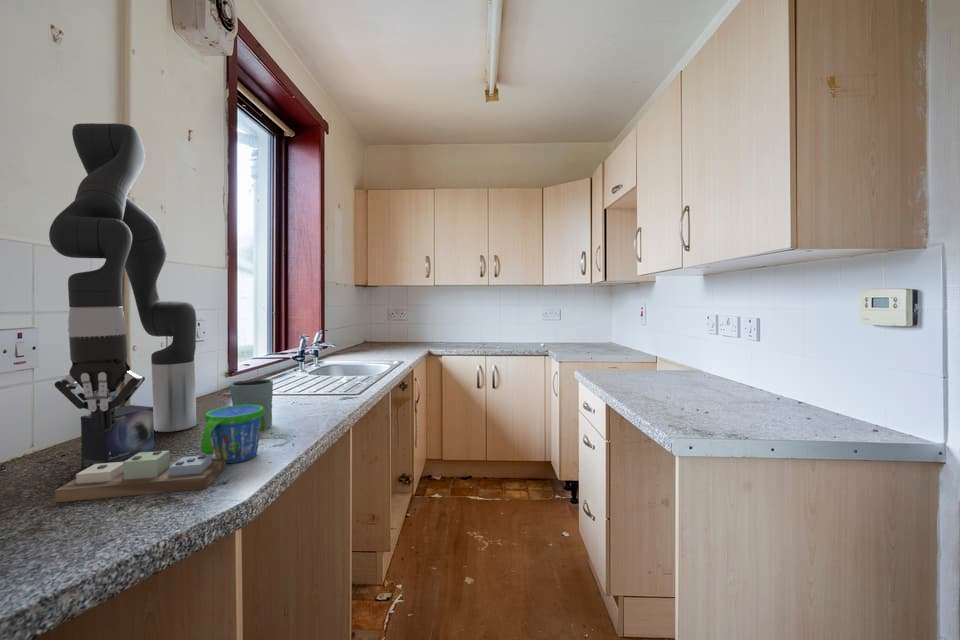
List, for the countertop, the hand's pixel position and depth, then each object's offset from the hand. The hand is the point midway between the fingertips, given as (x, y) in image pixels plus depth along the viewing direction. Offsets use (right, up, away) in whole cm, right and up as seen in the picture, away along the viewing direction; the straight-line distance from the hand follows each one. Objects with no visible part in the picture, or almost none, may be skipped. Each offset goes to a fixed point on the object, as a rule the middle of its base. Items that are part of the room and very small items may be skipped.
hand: (103, 430), depth 77 cm
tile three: (+14, -10, +3) cm, 17 cm away
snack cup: (+15, -10, +14) cm, 23 cm away
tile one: (0, -10, 0) cm, 10 cm away
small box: (-8, -10, +14) cm, 19 cm away
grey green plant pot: (+7, -9, +37) cm, 39 cm away
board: (+7, -10, +2) cm, 12 cm away
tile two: (+7, -8, +1) cm, 11 cm away
